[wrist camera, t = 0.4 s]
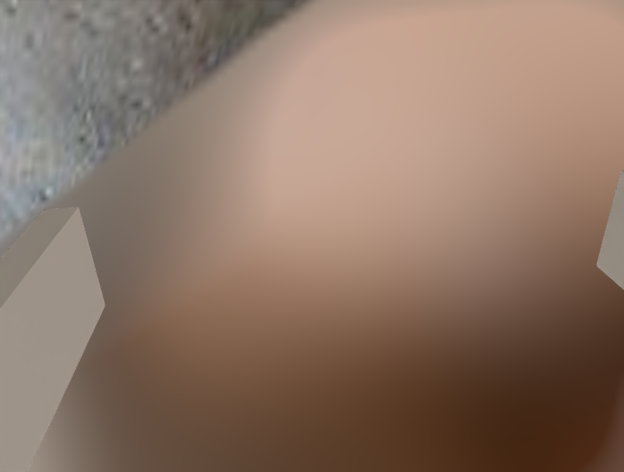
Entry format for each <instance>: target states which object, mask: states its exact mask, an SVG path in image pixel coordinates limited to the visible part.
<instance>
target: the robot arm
mask: <svg viewBox="0 0 624 472" xmlns="http://www.w3.org/2000/svg"><path fill="white" fill-rule="evenodd" d="M597 267H598V268H600V269H601V270H602V271H603V272H604V273H605V274H606V275H608V276H609V277H610V278H611V279H612V280H613V281H615V282H616V283H617V284H618V285H619V286H620V287H621V288H623V289H624V170H621V173H620V177H619V180H618V184H617V188H616V192H615V196H614V200H613V204H612V207H611V211H610V215H609V219H608V223H607V227H606V231H605V235H604V238H603V242H602V246H601V250H600V254H599V258H598V261H597ZM104 306H105V303H104V299H103V296H102V292H101V289H100V285H99V281H98V277H97V274H96V270H95V266H94V262H93V259H92V256H91V252H90V248H89V244H88V240H87V237H86V233H85V229H84V226H83V222H82V218H81V215H80V211H79V208H78V207H73V208H58V209H44V210H43V212H42V213H41V214H40V215H39V216H38V217H37V218H36V219H35V220H34V221H33V223H32V224H31V225H30V226H29V227H28V228H27V229H26V230H25V231H24V232H23V234H22V235H21V236H20V237H19V238H18V239H17V240H16V241H15V242H14V243H13V245H12V246H11V247H10V248H9V249H8V250H7V251H6V252H5V253H4V254H3V256H2V257H1V258H0V472H28V470H29V468H30V465H31V464H32V461H33V459H34V457H35V455H36V453H37V451H38V449H39V446H40V444H41V442H42V440H43V438H44V436H45V434H46V431H47V429H48V427H49V425H50V423H51V420H52V418H53V416H54V414H55V412H56V410H57V407H58V405H59V403H60V401H61V399H62V397H63V395H64V393H65V390H66V388H67V386H68V384H69V382H70V380H71V378H72V375H73V373H74V371H75V369H76V367H77V364H78V362H79V360H80V358H81V356H82V354H83V352H84V350H85V347H86V345H87V343H88V341H89V339H90V337H91V334H92V332H93V330H94V328H95V326H96V324H97V321H98V319H99V317H100V315H101V313H102V311H103V309H104Z"/></svg>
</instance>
